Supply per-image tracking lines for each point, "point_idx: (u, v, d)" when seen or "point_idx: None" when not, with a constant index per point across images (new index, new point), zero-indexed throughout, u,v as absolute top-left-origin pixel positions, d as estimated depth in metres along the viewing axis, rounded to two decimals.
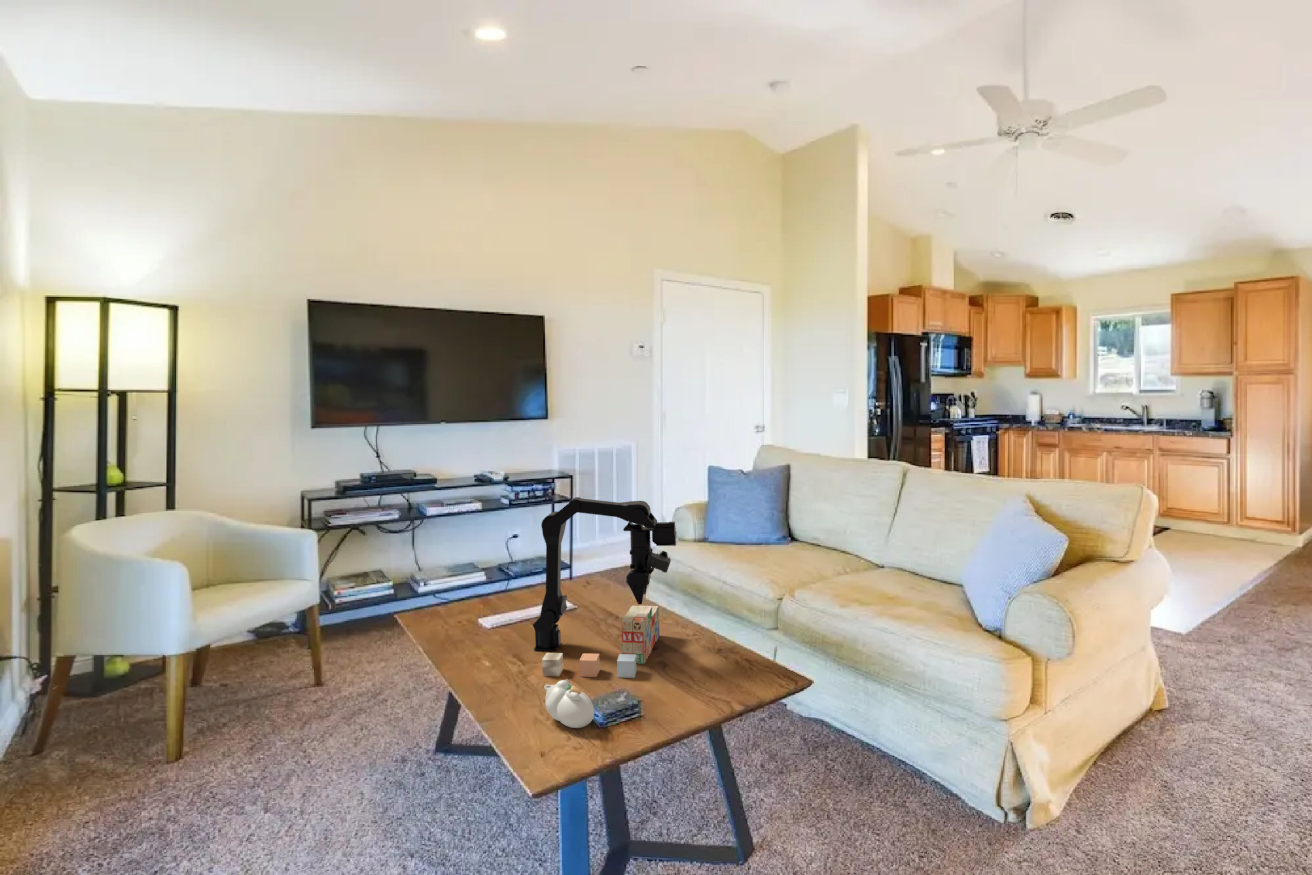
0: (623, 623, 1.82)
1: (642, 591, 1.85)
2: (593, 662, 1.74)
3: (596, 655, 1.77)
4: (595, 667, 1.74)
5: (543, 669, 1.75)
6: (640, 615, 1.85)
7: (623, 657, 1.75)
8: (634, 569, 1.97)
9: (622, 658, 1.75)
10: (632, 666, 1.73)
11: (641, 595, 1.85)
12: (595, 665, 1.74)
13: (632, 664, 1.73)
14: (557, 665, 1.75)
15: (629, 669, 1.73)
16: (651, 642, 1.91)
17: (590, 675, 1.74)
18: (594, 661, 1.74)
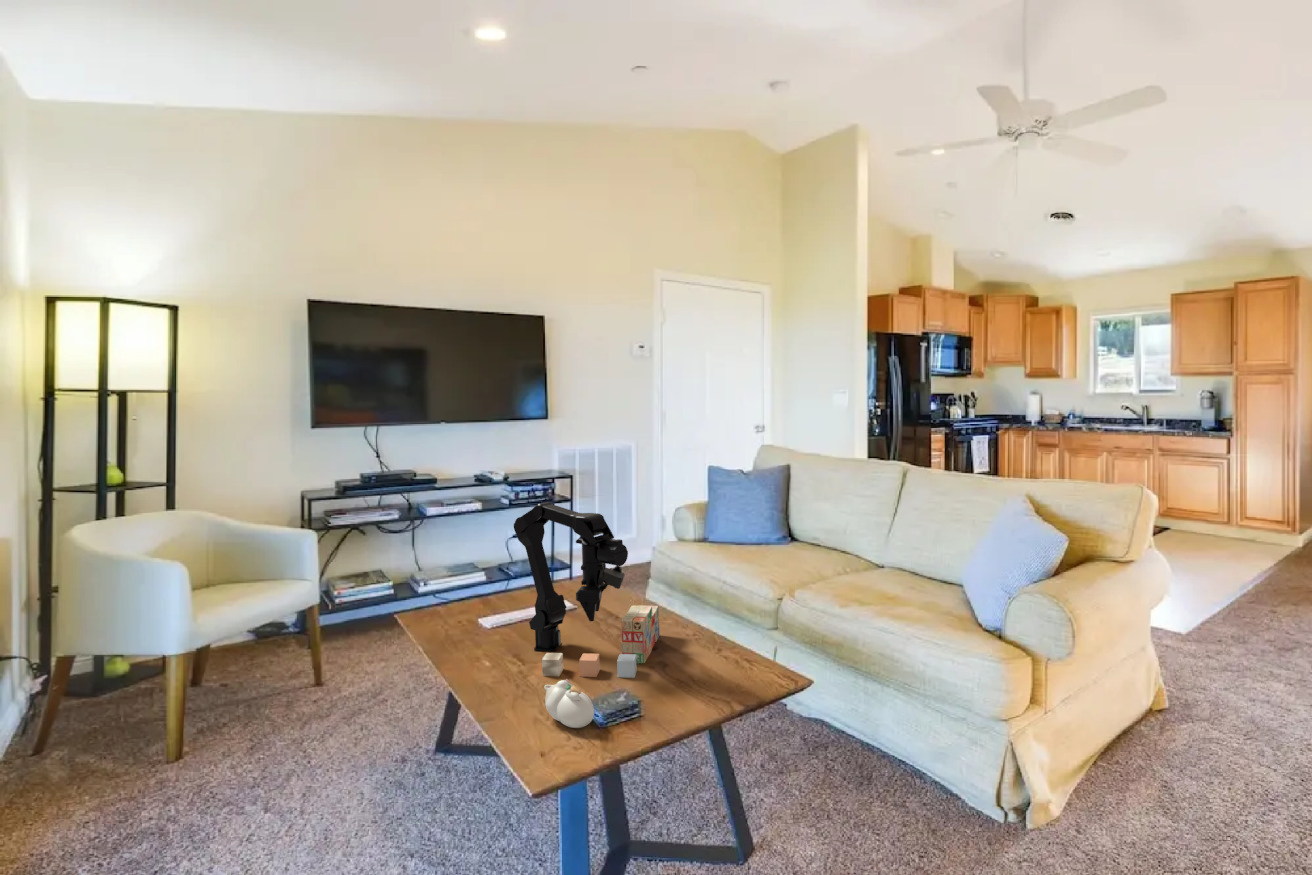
0: (623, 623, 1.82)
1: (593, 608, 1.77)
2: (593, 662, 1.74)
3: (596, 655, 1.77)
4: (595, 667, 1.74)
5: (543, 669, 1.75)
6: (640, 614, 1.85)
7: (623, 657, 1.75)
8: None
9: (622, 658, 1.75)
10: (632, 666, 1.73)
11: (592, 612, 1.78)
12: (595, 665, 1.74)
13: (632, 664, 1.73)
14: (557, 665, 1.75)
15: (629, 669, 1.73)
16: (651, 642, 1.91)
17: (590, 675, 1.74)
18: (594, 661, 1.74)
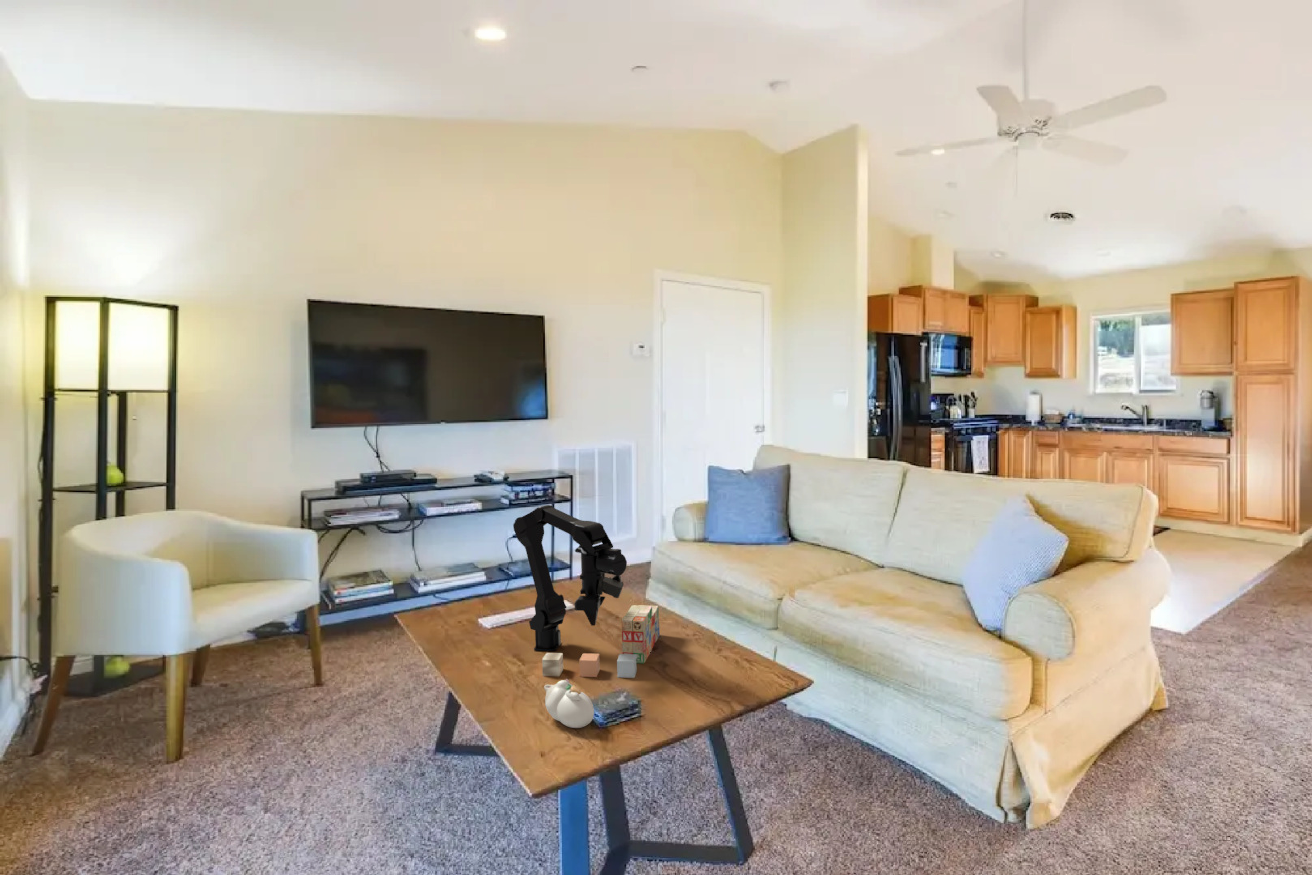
0: (623, 622, 1.82)
1: (595, 612, 1.81)
2: (593, 662, 1.74)
3: (596, 655, 1.77)
4: (595, 667, 1.74)
5: (543, 669, 1.75)
6: (640, 614, 1.86)
7: (623, 657, 1.75)
8: None
9: (622, 658, 1.75)
10: (632, 666, 1.73)
11: (594, 616, 1.81)
12: (595, 665, 1.74)
13: (632, 664, 1.73)
14: (557, 665, 1.75)
15: (629, 669, 1.73)
16: (651, 641, 1.92)
17: (590, 675, 1.74)
18: (594, 661, 1.74)
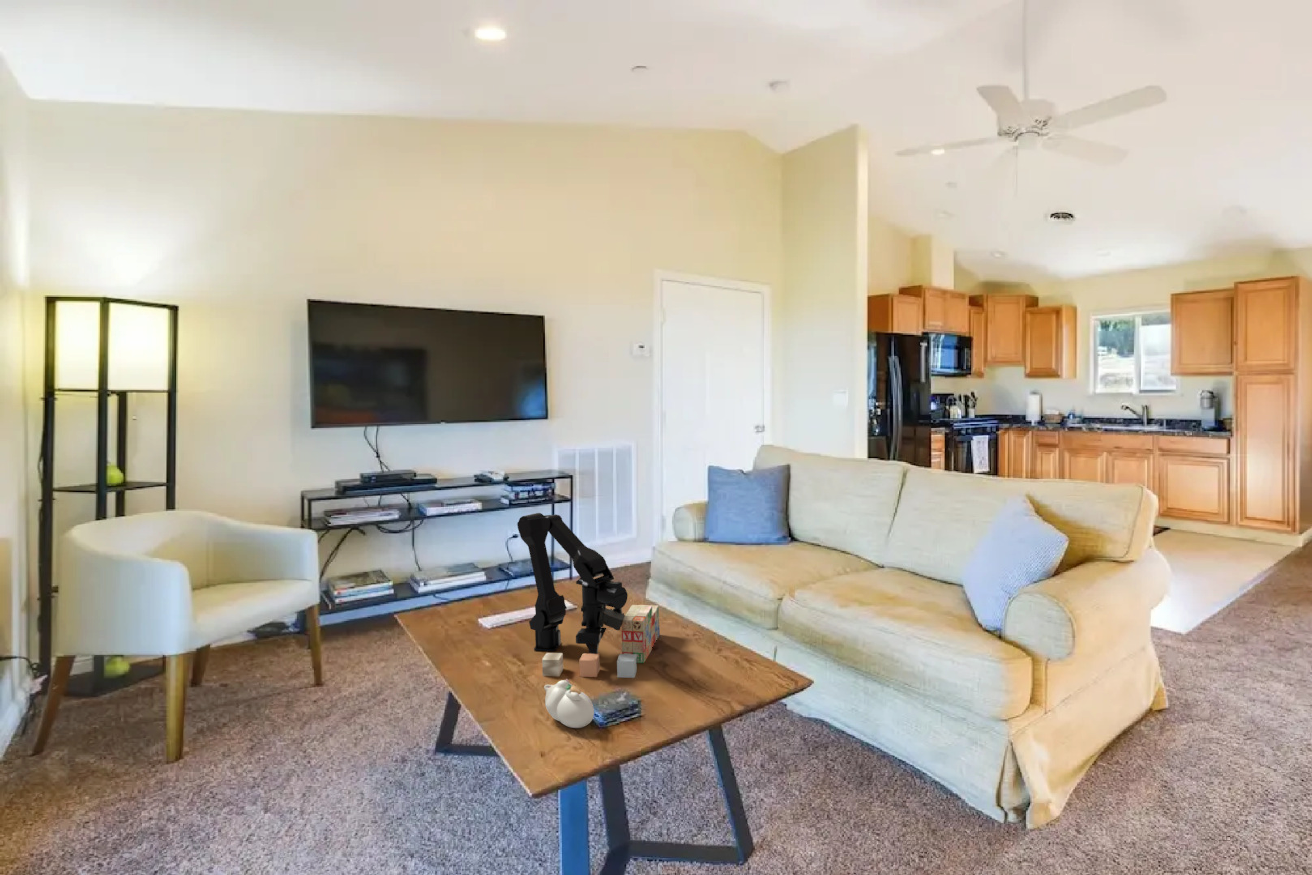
0: (623, 622, 1.82)
1: (596, 644, 1.81)
2: (593, 662, 1.74)
3: (596, 655, 1.77)
4: (595, 667, 1.74)
5: (543, 669, 1.75)
6: (640, 614, 1.86)
7: (623, 657, 1.75)
8: None
9: (622, 658, 1.75)
10: (632, 666, 1.73)
11: (595, 648, 1.82)
12: (595, 665, 1.74)
13: (632, 664, 1.73)
14: (557, 665, 1.75)
15: (629, 669, 1.73)
16: (651, 641, 1.92)
17: (590, 675, 1.74)
18: (594, 661, 1.74)
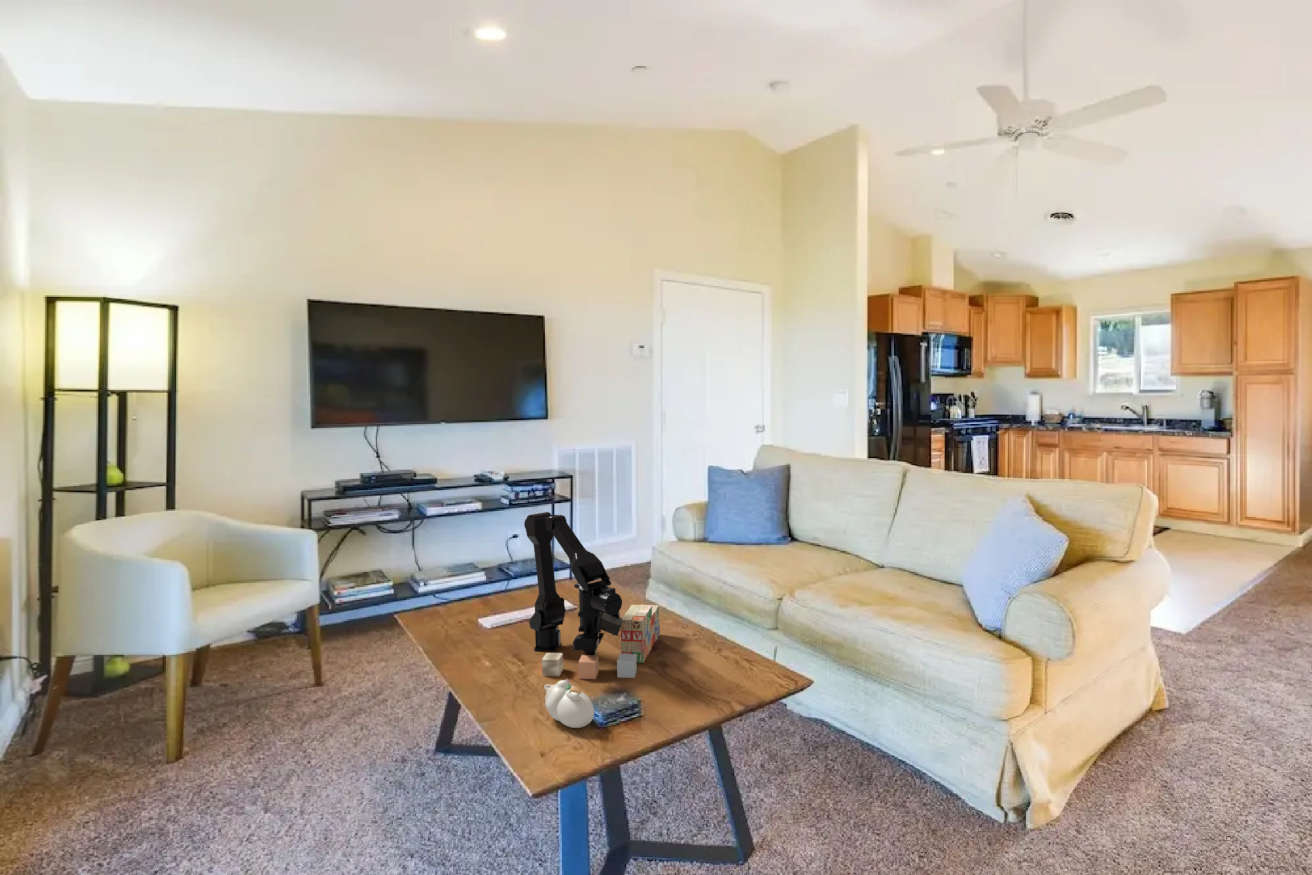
0: (622, 622, 1.83)
1: (593, 650, 1.77)
2: (592, 664, 1.73)
3: (595, 657, 1.76)
4: (594, 669, 1.73)
5: (543, 669, 1.75)
6: (639, 614, 1.86)
7: (623, 657, 1.76)
8: None
9: (622, 658, 1.75)
10: (632, 666, 1.73)
11: (593, 654, 1.78)
12: (594, 667, 1.73)
13: (632, 664, 1.73)
14: (557, 665, 1.75)
15: (629, 669, 1.73)
16: (651, 641, 1.92)
17: (589, 677, 1.73)
18: (593, 663, 1.73)
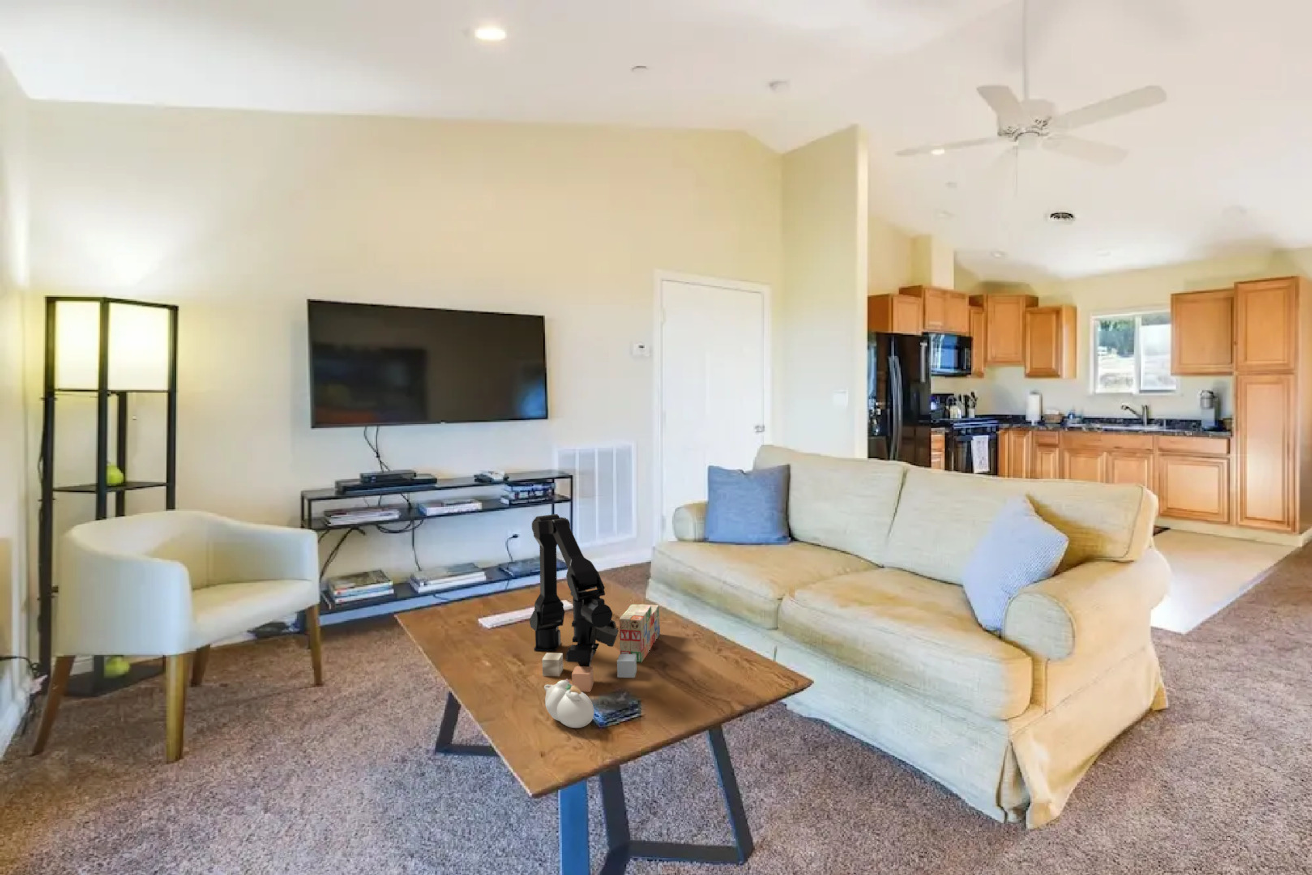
0: (621, 621, 1.83)
1: (588, 661, 1.70)
2: (586, 676, 1.66)
3: (589, 668, 1.69)
4: (588, 681, 1.66)
5: (543, 669, 1.75)
6: (638, 613, 1.86)
7: (623, 657, 1.75)
8: None
9: (622, 658, 1.75)
10: (632, 666, 1.73)
11: (587, 665, 1.71)
12: (588, 679, 1.66)
13: (632, 664, 1.73)
14: (557, 665, 1.75)
15: (629, 669, 1.73)
16: (650, 641, 1.92)
17: (583, 689, 1.66)
18: (587, 675, 1.66)
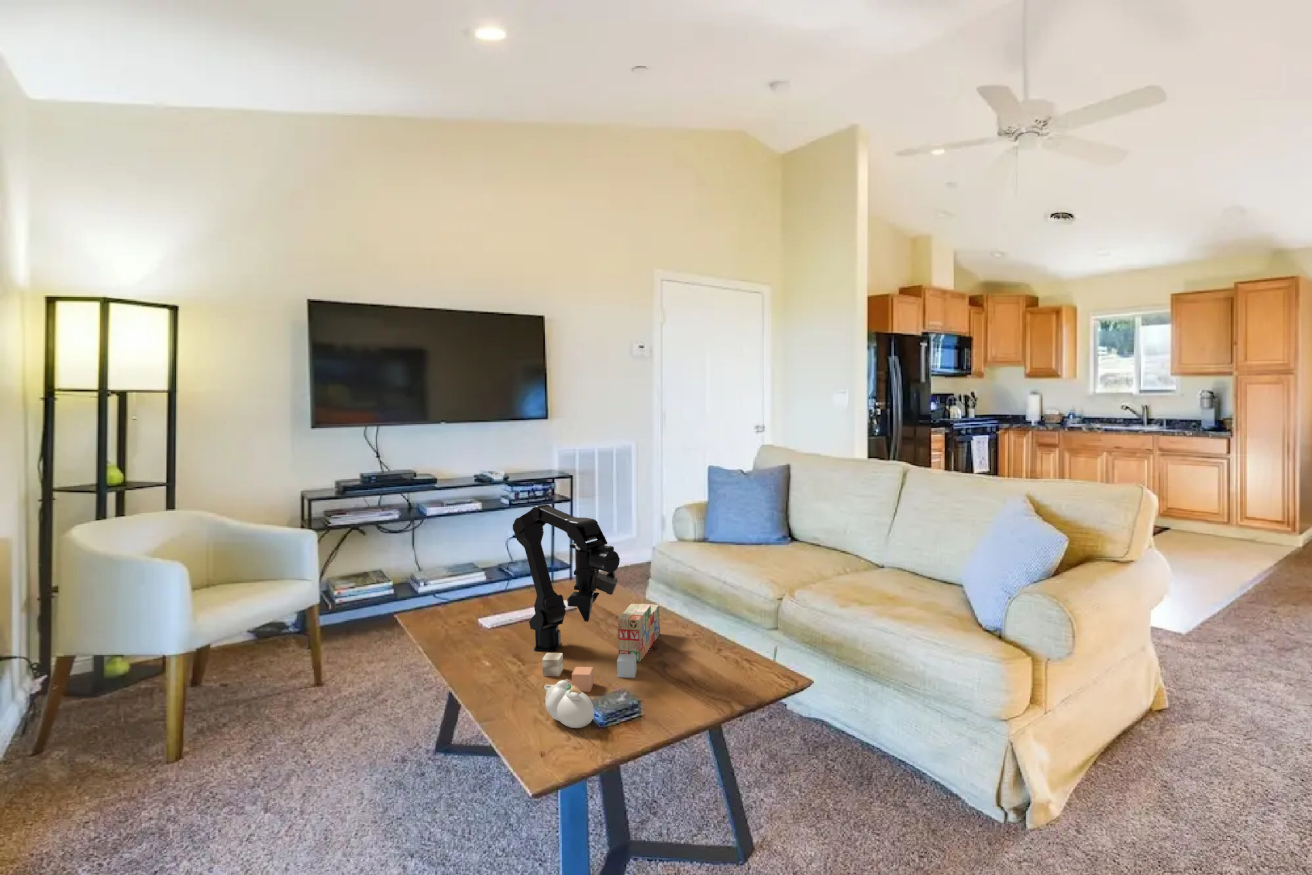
0: (619, 621, 1.84)
1: (588, 608, 1.81)
2: (586, 676, 1.66)
3: (589, 669, 1.69)
4: (588, 681, 1.66)
5: (543, 669, 1.75)
6: (637, 613, 1.87)
7: (623, 657, 1.75)
8: None
9: (622, 658, 1.75)
10: (632, 666, 1.73)
11: (587, 612, 1.81)
12: (588, 679, 1.66)
13: (632, 664, 1.73)
14: (557, 665, 1.75)
15: (629, 669, 1.73)
16: (649, 640, 1.93)
17: (583, 690, 1.66)
18: (587, 675, 1.66)
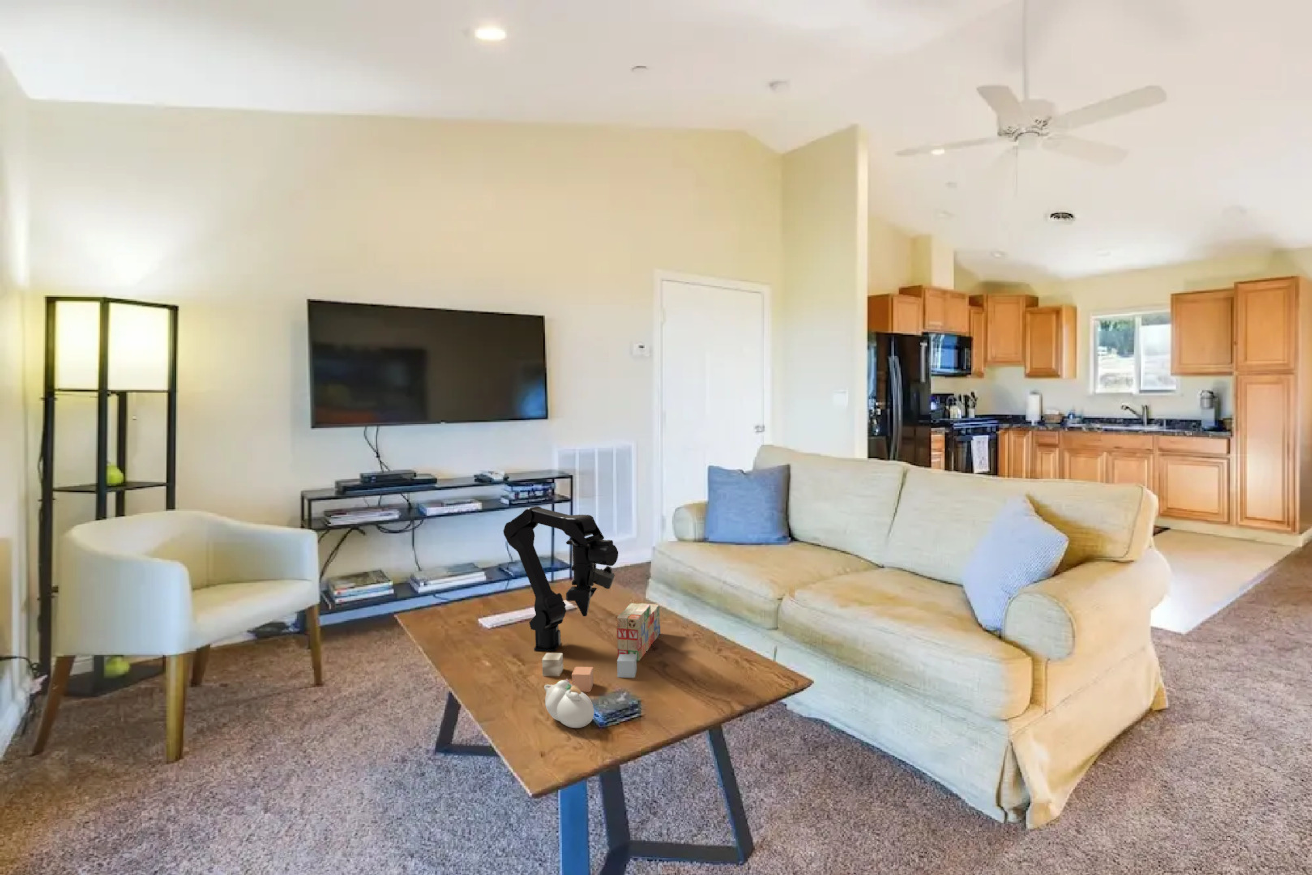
0: (618, 620, 1.84)
1: (586, 603, 1.84)
2: (586, 676, 1.66)
3: (589, 669, 1.69)
4: (588, 681, 1.66)
5: (543, 669, 1.75)
6: (636, 612, 1.87)
7: (623, 657, 1.75)
8: None
9: (622, 658, 1.75)
10: (632, 666, 1.73)
11: (585, 607, 1.84)
12: (588, 679, 1.66)
13: (632, 664, 1.73)
14: (557, 665, 1.75)
15: (629, 669, 1.73)
16: (649, 640, 1.93)
17: (583, 690, 1.66)
18: (587, 675, 1.66)
